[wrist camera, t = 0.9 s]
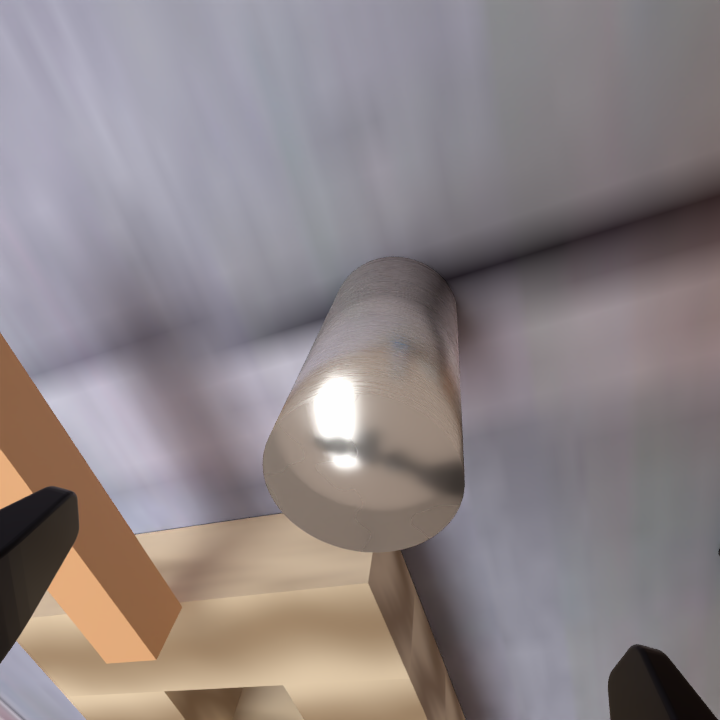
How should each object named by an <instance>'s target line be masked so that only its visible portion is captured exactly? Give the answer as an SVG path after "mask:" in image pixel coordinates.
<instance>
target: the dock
mask: <svg viewBox="0 0 720 720" xmlns="http://www.w3.org/2000/svg"><path fill="white" fill-rule="evenodd" d="M135 536H136V538H137V539H138V541H139V542H140V544H141V545H142V547H143V548H144V550H145V551H146V553H147V554H148V556H149V557H150V559H151V560H152V562H153V563H154V565H155V566H156V568H157V569H158V571H159V572H160V574H161V575H162V577H163V579H164V580H165V582H166V583H167V585H168V586H169V588H170V589H171V591H172V592H173V594H174V595H175V597H176V598H177V600H178V601H179V603H180V604H181V606H182V609H181V611H180V613H179V615H178V617H177V619H176V621H175V623H174V625H173V627H172V629H171V631H170V633H169V635H168V637H167V640H166V642H165V644H164V646H163V648H162V650H161V652H160V654H159V656H158V658H157V660H151V661H137V662H123V663H109V664H106V662H105V661H104V660H103V659H102V657H101V656H100V655H99V654H98V652H97V651H96V650H95V649H94V647H93V646H92V645H91V644H90V642H89V641H88V640H87V639H86V638H85V636H84V635H83V634H82V633H81V631H80V630H79V629H78V628H77V626H76V625H75V624H74V623H73V621H72V620H71V619H70V618H69V616H68V615H67V614H66V613H65V611H64V610H63V609H62V608H61V606H60V605H59V604H58V603H57V602H56V600H55V599H54V598H53V597H52V595H51V594H50V593H49V592H48V590H47V591H46V593H45V594H44V596H43V598H42V600H41V601H40V603H39V605H38V606H37V608H36V610H35V612H34V613H33V615H32V617H31V618H30V620H29V622H28V623H27V625H26V627H25V628H24V630H23V632H22V633H21V635H20V636H19V638H18V639H17V640H16V641H17V642H18V643H19V644H20V645H21V647H22V648H23V649H24V650H25V651H26V652H27V653H28V654H29V656H30V657H31V658H32V659H33V660H34V661H35V662H36V663H37V665H38V666H39V667H40V668H41V669H42V670H43V671H44V672H45V673H46V675H47V676H48V677H49V678H50V679H51V680H52V681H53V682H54V684H55V685H56V686H57V687H58V688H59V689H60V690H61V691H62V693H63V694H64V695H65V696H66V697H67V698H68V699H69V700H70V701H71V703H72V704H73V705H74V706H75V707H76V708H77V709H78V710H79V712H80V713H81V714H82V715H83V716H84V717H85V718H86V719H87V720H465V717H464V714H463V712H462V709H461V707H460V704H459V701H458V699H457V696H456V694H455V691H454V688H453V686H452V683H451V681H450V678H449V675H448V673H447V670H446V667H445V665H444V662H443V660H442V657H441V654H440V652H439V649H438V647H437V644H436V641H435V639H434V636H433V634H432V631H431V628H430V626H429V623H428V621H427V618H426V615H425V613H424V610H423V608H422V605H421V602H420V600H419V597H418V595H417V592H416V589H415V587H414V584H413V582H412V579H411V576H410V574H409V571H408V569H407V566H406V563H405V561H404V558H403V556H402V553H401V550H398V551H392V552H380V553H374V552H360V551H352V550H348V549H343V548H340V547H336V546H333V545H330V544H328V543H325V542H323V541H321V540H318V539H317V538H315V537H313V536H311V535H309V534H308V533H306V532H305V531H303V530H302V529H300V528H299V527H297V526H296V525H295V524H294V523H293V522H291V521H290V520H289V519H288V518H287V517H286V516H285V515H284V514H283V513H281V514H274V515H267V516H260V517H253V518H246V519H239V520H233V521H226V522H219V523H212V524H205V525H198V526H191V527H184V528H177V529H171V530H164V531H157V532H150V533H143V534H136V535H135Z"/></svg>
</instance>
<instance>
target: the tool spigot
mask: <svg viewBox="0 0 720 720" xmlns="http://www.w3.org/2000/svg"><path fill="white" fill-rule="evenodd" d="M263 473H264V478H265V482H266V485H267V488H268V490H269V493H270V495H271V497H272V498H273V500H274V502H275V503H276V505H277V506H278V507H279V509H280V510H281V511H282V513H283V514H284V515H285V516H286V517H287V518H288V519H289V520H290V521H291V522H293V523H294V524H295V525H296V526H297V527H299V528H300V529H302V530H303V531H305V532H306V533H308V534H309V535H311V536H313V537H315V538H317V539H318V540H321V541H323V542H325V543H328V544H330V545H333V546H336V547H340V548H343V549H348V550H352V551H360V552H374V553H380V552H392V551H398V550H403V549H406V548H410V547H413V546H416V545H418V544H421V543H423V542H425V541H427V540H428V539H430V538H432V537H434V536H435V535H436V534H438V533H439V532H440V531H442V530H443V529H444V528H445V527H446V526H447V525H448V524H449V523H450V521H451V520H452V519H453V517H454V516H455V514H456V513H457V511H458V509H459V507H460V504H461V501H462V498H463V494H464V487H465V481H464V457H463V435H462V413H461V390H460V368H459V346H458V324H457V308H456V302H455V299H454V296H453V293H452V291H451V289H450V287H449V286H448V285H447V283H446V282H445V280H444V279H443V278H442V277H441V276H440V275H439V274H438V273H437V272H436V271H434V270H433V269H432V268H430V267H428V266H427V265H425V264H423V263H421V262H419V261H416V260H413V259H409V258H403V257H385V258H380V259H376V260H373V261H370V262H368V263H365V264H363V265H362V266H360V267H359V268H357V269H356V270H354V271H353V272H352V273H351V274H350V275H349V276H348V277H347V279H346V280H345V281H344V283H343V284H342V286H341V287H340V289H339V292H338V294H337V296H336V298H335V300H334V302H333V304H332V306H331V308H330V310H329V312H328V315H327V317H326V319H325V321H324V323H323V325H322V327H321V329H320V331H319V333H318V336H317V338H316V340H315V342H314V344H313V346H312V348H311V350H310V352H309V354H308V356H307V359H306V361H305V363H304V365H303V367H302V369H301V371H300V373H299V375H298V377H297V379H296V382H295V384H294V386H293V388H292V390H291V392H290V394H289V396H288V398H287V400H286V403H285V405H284V407H283V409H282V411H281V413H280V415H279V417H278V419H277V421H276V423H275V426H274V428H273V430H272V432H271V434H270V436H269V438H268V441H267V443H266V446H265V450H264V454H263Z"/></svg>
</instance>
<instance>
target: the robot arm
mask: <svg viewBox="0 0 720 720" xmlns="http://www.w3.org/2000/svg"><path fill="white" fill-rule="evenodd" d="M78 533H79V513H78V499H77V495H76V494H75V492H73V491H71V490H67V489H63V488H59V487H56V486H49V487H45V488H43V489H41V490H39V491H37V492H35V493H33V494H30V495H28V496H26V497H24V498H22V499H20V500H18V501H16V502H14V503H12V504H10V505H8V506H6V507H4V508H2V509H0V663H1V662H2V660H3V659H4V658H5V656H6V655H7V653H8V652H9V651H10V649H11V648H12V646H13V645H14V643H15V642H16V640H17V639H18V638H19V636H20V635H21V633H22V632H23V630H24V628H25V627H26V625H27V623H28V622H29V620H30V618H31V617H32V615H33V613H34V612H35V610H36V608H37V606H38V605H39V603H40V601H41V600H42V598H43V596H44V594H45V593H46V591H47V589H48V588H49V586H50V584H51V582H52V581H53V579H54V577H55V575H56V574H57V572H58V570H59V569H60V567H61V565H62V563H63V562H64V560H65V558H66V556H67V555H68V553H69V551H70V550H71V548H72V546H73V544H74V543H75V541H76V538H77V536H78ZM719 555H720V549H719ZM608 695H609V707H610V719H611V720H718V719H717V718H716V717H715V715H714V714H713V713H712V712H711V710H710V709H709V708H708V707H707V705H706V704H705V703H704V702H703V700H702V699H701V698H700V697H699V695H698V694H697V693H696V692H695V690H694V689H693V688H692V687H691V685H690V684H689V683H688V682H687V680H686V679H685V678H684V677H683V675H682V674H681V673H680V671H679V670H678V669H677V668H676V666H675V665H674V664H673V663H672V661H671V660H670V659H669V658H668V657H667V656H666V655H665V654H664V653H663V652H662V651H660V650H657V649H654V648H650V647H647V646H643V645H639V644H636V645H633V646H631V647H630V648H629V649H628V651H627V652H626V653H625V655H624V656H623V657H622V658H621V660H620V661H619V662H618V664H617V665H616V666H615V667H614V669H613V670H612V672H611V674H610V676H609V681H608Z"/></svg>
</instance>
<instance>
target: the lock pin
mask: <svg viewBox="0 0 720 720" xmlns="http://www.w3.org/2000/svg"><path fill="white" fill-rule="evenodd" d="M49 486H56V487H59V488H63V489H67V490H71V491H73V492H75V494H76V495H77V499H78V513H79V533H78V536H77V538H76V541H75V543H74V544H73V546H72V548H71V550H70V551H69V553H68V555H67V556H66V558H65V560H64V562H63V563H62V565H61V567H60V569H59V570H58V572H57V574H56V575H55V577H54V579H53V581H52V582H51V584H50V586H49V588H48V589H47V590H48V592H49V593H50V594H51V595H52V597H53V598H54V599H55V600H56V602H57V603H58V604H59V605H60V606H61V608H62V609H63V610H64V611H65V613H66V614H67V615H68V616H69V618H70V619H71V620H72V621H73V623H74V624H75V625H76V626H77V628H78V629H79V630H80V631H81V633H82V634H83V635H84V636H85V638H86V639H87V640H88V641H89V642H90V644H91V645H92V646H93V647H94V649H95V650H96V651H97V652H98V654H99V655H100V656H101V657H102V659H103V660H104V661H105V662H106V664H109V663H123V662H137V661H151V660H157V658H158V656H159V654H160V652H161V650H162V648H163V646H164V644H165V642H166V640H167V637H168V635H169V633H170V631H171V629H172V627H173V625H174V623H175V621H176V619H177V617H178V615H179V613H180V611H181V609H182V606H181V604H180V603H179V601H178V600H177V598H176V597H175V595H174V594H173V592H172V591H171V589H170V588H169V586H168V585H167V583H166V582H165V580H164V579H163V577H162V575H161V574H160V572H159V571H158V569H157V568H156V566H155V565H154V563H153V562H152V560H151V559H150V557H149V556H148V554H147V553H146V551H145V550H144V548H143V547H142V545H141V544H140V542H139V541H138V539H137V538H136V536H135V535H134V533H133V532H132V530H131V529H130V527H129V526H128V524H127V523H126V521H125V520H124V518H123V517H122V515H121V514H120V512H119V511H118V509H117V508H116V506H115V505H114V503H113V502H112V500H111V499H110V497H109V496H108V494H107V493H106V491H105V490H104V488H103V487H102V485H101V484H100V482H99V481H98V479H97V478H96V476H95V475H94V473H93V472H92V470H91V469H90V467H89V466H88V464H87V463H86V461H85V459H84V458H83V456H82V455H81V453H80V452H79V450H78V449H77V447H76V446H75V444H74V443H73V441H72V440H71V438H70V437H69V435H68V434H67V432H66V431H65V429H64V428H63V426H62V425H61V423H60V422H59V420H58V419H57V417H56V416H55V414H54V413H53V411H52V410H51V408H50V407H49V405H48V404H47V402H46V401H45V399H44V398H43V396H42V395H41V393H40V392H39V390H38V389H37V387H36V386H35V384H34V383H33V381H32V380H31V378H30V377H29V375H28V374H27V372H26V371H25V369H24V368H23V366H22V365H21V363H20V362H19V360H18V359H17V357H16V356H15V354H14V353H13V351H12V350H11V348H10V346H9V345H8V343H7V342H6V340H5V339H4V337H3V336H2V334H1V333H0V509H2V508H4V507H6V506H8V505H10V504H12V503H14V502H16V501H18V500H20V499H22V498H24V497H26V496H28V495H30V494H33V493H35V492H37V491H39V490H41V489H43V488H45V487H49Z"/></svg>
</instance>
